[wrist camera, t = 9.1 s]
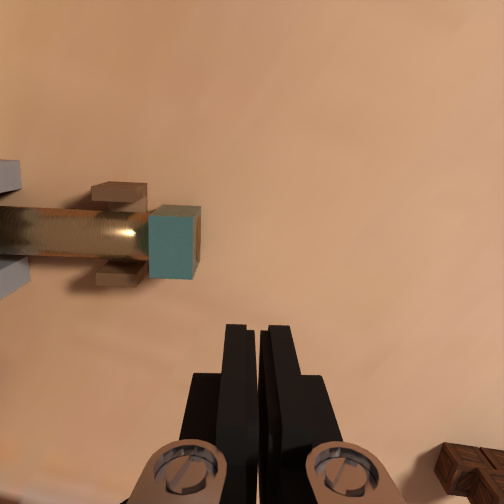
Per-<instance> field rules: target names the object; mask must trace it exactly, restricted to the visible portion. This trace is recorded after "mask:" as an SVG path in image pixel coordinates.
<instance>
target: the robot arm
mask: <svg viewBox="0 0 504 504" xmlns="http://www.w3.org/2000/svg"><path fill="white" fill-rule="evenodd" d="M257 473H258V474H259V498H260V504H407V503H406V501H405V500H404V498H403V496H402V495H401V493H400V491H399V490H398V488H397V487H396V485H395V483H394V482H393V480H392V478H391V477H390V475H389V474H388V472H387V470H386V469H385V467H384V466H383V464H382V463H381V462H380V461H379V460H378V458H377V457H376V456H374V455H373V454H372V453H370V452H369V451H368V450H366V449H364V448H362V447H360V446H358V445H355V444H351V443H347V442H343V439H342V436H341V433H340V430H339V427H338V424H337V421H336V418H335V414H334V411H333V408H332V405H331V402H330V399H329V396H328V393H327V390H326V387H325V384H324V381H323V378H322V376H320V375H301V372H300V367H299V363H298V359H297V355H296V351H295V347H294V342H293V338H292V334H291V330H290V326H285V325H269V327H268V331H266V330H261V333H260V354H259V378H258V389H257V370H256V351H255V332H254V330H247V328H246V325H241V324H226V331H225V341H224V352H223V362H222V372H221V373H194V374H193V377H192V381H191V386H190V391H189V395H188V400H187V405H186V409H185V414H184V418H183V423H182V428H181V432H180V437H179V441H174V442H171V443H169V444H167V445H165V446H163V447H161V448H160V449H159V450H157V451H156V452H155V453H154V454H153V455H152V456H151V458H150V459H149V460H148V462H147V463H146V465H145V467H144V469H143V471H142V473H141V475H140V477H139V479H138V481H137V483H136V485H135V487H134V489H133V491H132V493H131V495H130V497H129V498H128V499H126V500H125V501H123V502H122V503H120V504H256V495H257Z"/></svg>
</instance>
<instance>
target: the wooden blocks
mask: <svg viewBox="0 0 504 504" xmlns="http://www.w3.org/2000/svg"><path fill="white" fill-rule="evenodd" d="M434 472H435V474H436V476H437V478H438V479H439V481H440V483H441V484H442V486H443V488H444V490H445V491H446V493H447V494H448V495H456V496H463V497H467V498H468V500H469V502H470V503H471V504H504V451H503V450H496V449H489V448H482V447H480V450H479V449H478V447H474V446H467V445H460V444H453V443H446V442H444V443H443V446H442V449H441V452H440V455H439V457H438V460H437V463H436V466H435V469H434Z"/></svg>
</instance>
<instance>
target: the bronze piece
mask: <svg viewBox="0 0 504 504" xmlns="http://www.w3.org/2000/svg"><path fill="white" fill-rule="evenodd" d="M200 242H201V206H180V205H162V206H160V207H159V208H158V209H156V210H155V211H154V212H152V213H145V212H123V211H101V210H79V209H58V208H36V207H14V206H0V254H13V255H36V256H60V257H83V258H106V259H130V260H149V278H164V279H188V280H193V277H194V275H195V272H196V269H197V267H198V264H199V262H200Z"/></svg>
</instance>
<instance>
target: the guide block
mask: <svg viewBox="0 0 504 504" xmlns="http://www.w3.org/2000/svg"><path fill="white" fill-rule="evenodd" d="M91 195H92V201H107V211H123V212H145V213H147V183H131V182H110V181H109V182H106V183H102V184H98V185H95V186H91ZM147 272H148V260H130V259H109V262H108V263H106V264H105V265H104V266H103V267H102V268H101V269H99V270H98V271H97V272H96V273H95V274H96V286H121V287H137V285H138V284H139V283H140V282H141V280H142V279H143V278H144V276H145V275H146V274H147Z"/></svg>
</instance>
